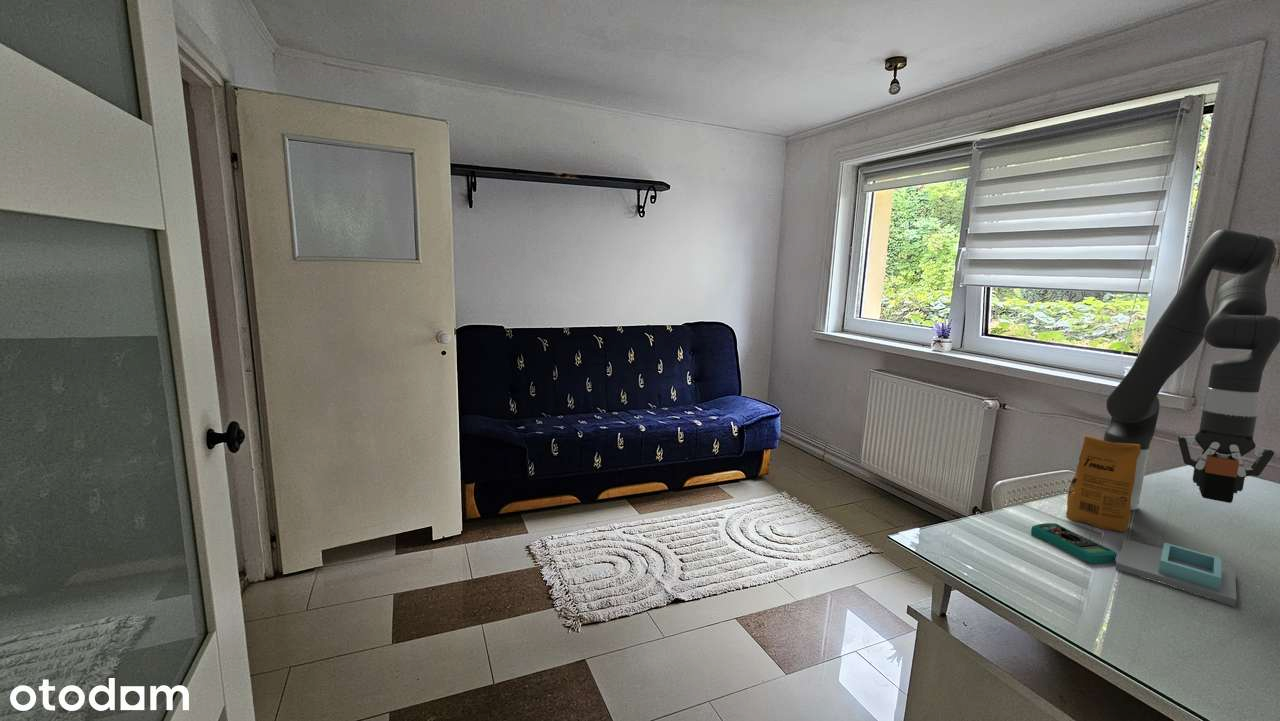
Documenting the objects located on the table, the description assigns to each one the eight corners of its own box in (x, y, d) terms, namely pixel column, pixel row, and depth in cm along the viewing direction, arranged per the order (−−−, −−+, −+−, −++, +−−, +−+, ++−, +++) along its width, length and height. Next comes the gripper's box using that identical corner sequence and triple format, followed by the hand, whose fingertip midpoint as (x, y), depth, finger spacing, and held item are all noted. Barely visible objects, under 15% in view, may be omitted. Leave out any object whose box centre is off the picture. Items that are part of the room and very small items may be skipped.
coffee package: (1066, 507, 141) (1079, 430, 138) (1128, 523, 133) (1143, 441, 129) (1062, 519, 134) (1075, 437, 131) (1127, 536, 126) (1143, 449, 122)
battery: (1201, 498, 109) (1209, 452, 108) (1198, 489, 114) (1205, 445, 113) (1232, 504, 106) (1240, 457, 105) (1227, 494, 111) (1235, 450, 110)
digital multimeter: (1052, 531, 128) (1053, 520, 128) (1117, 563, 114) (1119, 551, 113) (1027, 534, 127) (1029, 522, 126) (1090, 566, 112) (1092, 554, 112)
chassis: (1115, 569, 111) (1118, 551, 110) (1124, 544, 121) (1127, 528, 121) (1235, 607, 98) (1239, 587, 98) (1233, 576, 109) (1237, 558, 108)
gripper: (1180, 407, 110) (1168, 484, 113) (1286, 419, 100) (1271, 503, 103) (1179, 402, 115) (1168, 475, 118) (1280, 413, 105) (1265, 493, 108)
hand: (1216, 488), depth 110 cm, fingers closed on battery, 4 cm apart
